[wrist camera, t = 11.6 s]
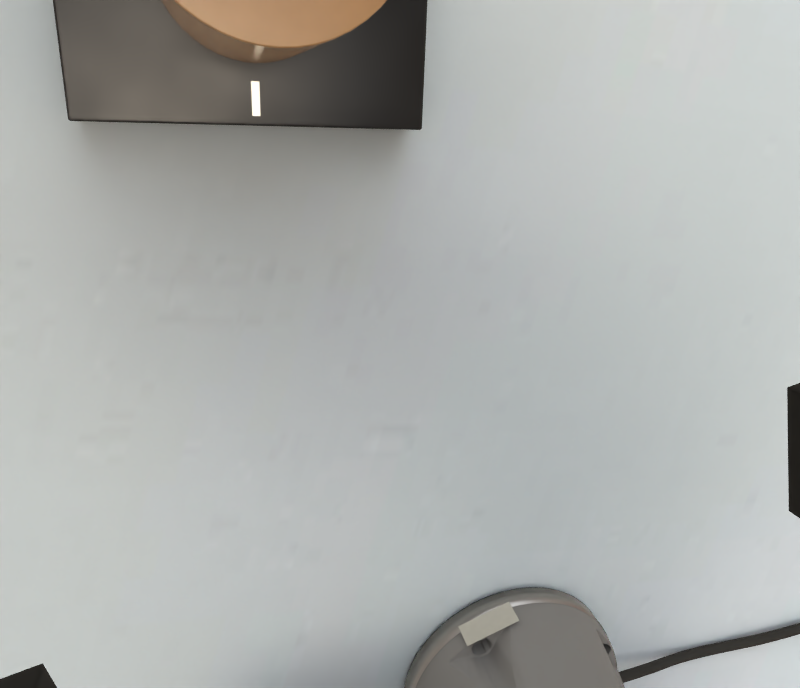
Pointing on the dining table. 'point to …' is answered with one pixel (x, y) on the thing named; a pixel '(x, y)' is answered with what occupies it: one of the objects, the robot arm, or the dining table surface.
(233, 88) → the control knob panel
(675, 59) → the dining table surface
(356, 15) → the tan pointer knob
